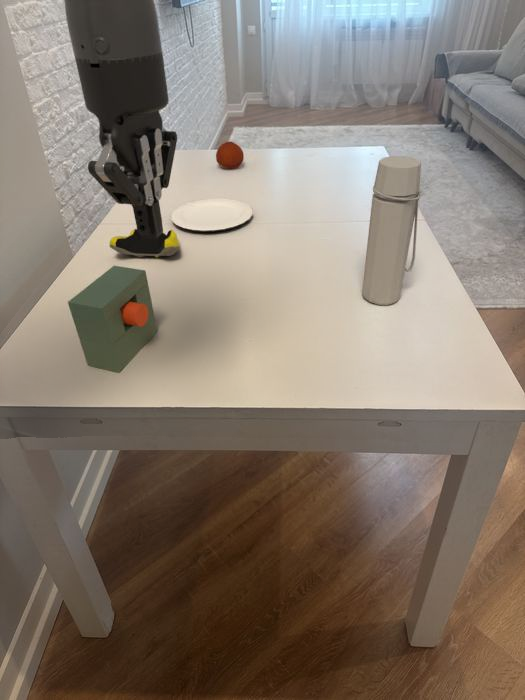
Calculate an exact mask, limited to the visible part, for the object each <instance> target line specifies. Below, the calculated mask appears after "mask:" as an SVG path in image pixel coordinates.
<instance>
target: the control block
mask: <svg viewBox="0 0 525 700" xmlns="http://www.w3.org/2000/svg"><path fill="white" fill-rule="evenodd" d="M128 301H130V302H136V303H141V304H145V305H146V306H147V308H148V319H147V321H146V323H145V324H144V325H143V326H142V327H139V326H134V325H129V324H124V323H123V319H122V315H121V311H120V308H121V307H122V306H123V305H124V304H125V303H127V302H128ZM67 305H68V308H69V312H70V315H71V318H72V321H73V323H74V327H75V331H76V333H77V336H78V339H79V342H80V346H81V349H82V352H83V355H84V358H85V362H86V365H87V366H88V367H93V368H97V369H100V370H101V369H102V370H105V371H109V372H114V373H118V374H120V373H121V372H122V371H123V369H124V368H125V367H127V365H128V364H129V363H130V362H131V361H132V360H133V359H134V358H135V357H136V355H137V354H138V353H139V352H140V351H141V350H142V349H143V348H144V346H146V344H148V342H149V341H150V340H151V339H152V338H153V337H154V336H155V335H156V333H158V327H157V322H156V317H155V313H154V307H153V302H152V297H151V292H150V286H149V282H148V276H147V271H146V270H145V269H138V268H131V267H126V266H120V265H112V266H111V267H110V268H109V269H107V270H106V271H105V272H104V273H102V274H101V275H100V276H98V278H96V279H95V280H93V281H92V282H91V283H90V284H88V285H87V286H86V287H84V288H83V289H82V290H80V292H78V293H77V294H76V295H75V296H73V297H72V298H71V299H70V300H69V301H67Z"/></svg>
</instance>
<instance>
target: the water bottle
mask: <svg viewBox="0 0 525 700" xmlns="http://www.w3.org/2000/svg"><path fill="white" fill-rule="evenodd" d="M421 170H422V162H421V160H419V159H417V158H415V157H412V156H404V155H390V156H385V157H382V158H381V159H379V160H378V164H377V169H376V174H375V179H374V183H373V186H372V192H373V194H372V198H371V207H370V216H369V223H368V224H369V225H368V233H367V243H366V252H365V253H366V254H365V262H364V269H363V281H362V289H361V292H362V296H363V298H364V299H365V300H366V301H367V302H369V303H371V304H374V305H377V306H388V305H392V304H395V303H396V302H397V301H399V299H400V298H401V296H402V291H403V284H404V278H405V272H406V273H409V272H412V269H413V267H414V265H415V260H416V249H417V248H416V245H417V230H418V215H419V213H418V212H419V200H420V199H421V198H422V197H423V191H422V190H421V189H420V186H421V173H422V172H421ZM412 233H413V243H412V246H413V247H412V257H411V261H410V265H409V267H408V268H406V266H407V260H408V255H409V251H410V250H409V249H410V244H411V238H412Z"/></svg>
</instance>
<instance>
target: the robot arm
mask: <svg viewBox="0 0 525 700" xmlns="http://www.w3.org/2000/svg"><path fill="white" fill-rule="evenodd" d="M64 8H65V18H66V24H67V28H68V34H69V37H70V42H71V46H72V47H71V48H72V50H73V55H74V58H75V59H74V60H75V64H76V65H75V66H76V69H77V73H78V78H79V82H80V86H81V91H82V94H83V100H84V104H85V107H86V109H87V110H88V112H90V113H91V114H93V115H94V116H95V117H96V119H98V124H99V133H98V139H99V140H98V141H99V143H100V145H101V148H102V149H101V152H100V154H99V157H98V160H90V161H88V164H87V170H88V173H89V174H90V175H91V176H92V177H93V179H95V180H96V182H97V183H98V184H99V185H100V186H101V187H102V188H103V189H104V190H105V191H106V193H108V195H109V196H110V197H111V198H112V199H113V200H114V201H115V202H116V203H117V204H118V205H130V206H131V207H132V210H133V215H134V220H135V225H136V229H137V231H138V233H139V235H140V236H141V237H144V238H151V239H155V238H156V237H158V236H159V235H160V234H161V233H162V232H163V233H164V227H163V218H162V213H161V206H160V200H161V198H162V195H163V194H162V192H163V191H162V190H163V189H167V188H168V187H169V185H170V180H171V175H172V170H173V164H174V159H175V154H176V148H177V143H178V134H177V132H176V131H174V130H173V131H172V130H167V129H165V128H164V126H163V124H164V123H163V117H162V114H161V113H160V111H161V110H163V109H164V108H166V107H167V106H168V104H169V99H170V98H169V93H168V92H169V91H168V84H167V77H166V70H165V63H164V55H163V47H162V39H161V31H160V25H159V18H158V17H159V16H158V13H157V8H156V3H155V0H64Z"/></svg>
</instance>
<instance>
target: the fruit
mask: <svg viewBox="0 0 525 700" xmlns="http://www.w3.org/2000/svg"><path fill="white" fill-rule="evenodd" d="M216 150H217V151H216V153H215V160H216V162H217V163H218V165H219V166H221V167H222V168H224V169H228V170H229V169H230V170H231V169H236V168H238V167H240V166H241V165H242V164H243V162H244V158H245V157H244V151H243V149H242V147H241V146H240V145H239V144H237V143H235V142H234V141H225V142H223V143H222V144H220V145H219V147H218V148H217V149H216Z"/></svg>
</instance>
